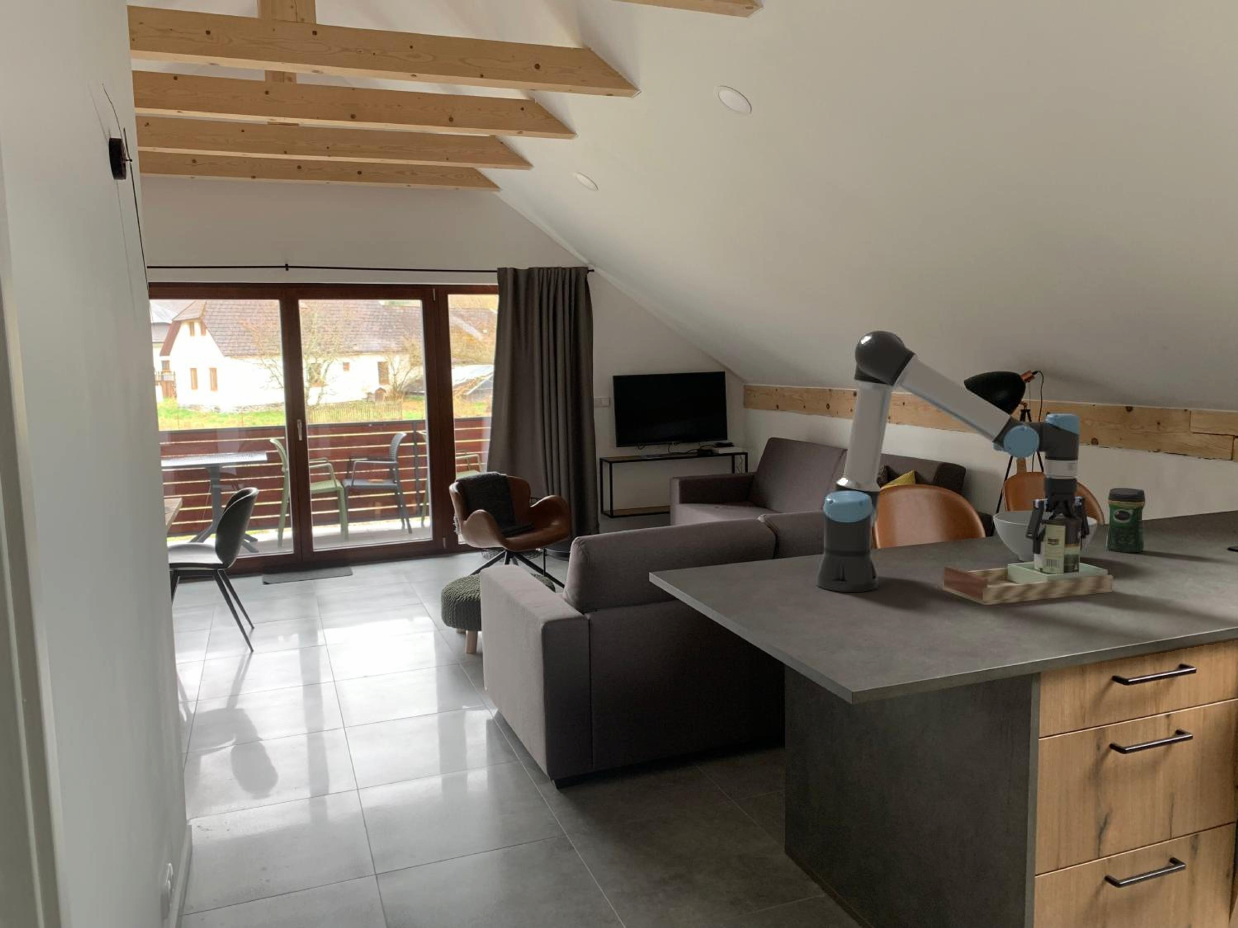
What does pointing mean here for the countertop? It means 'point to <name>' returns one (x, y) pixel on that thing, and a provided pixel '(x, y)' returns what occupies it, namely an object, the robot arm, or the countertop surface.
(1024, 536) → the decorative bowl
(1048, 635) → the countertop surface
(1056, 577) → the mint green tray
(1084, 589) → the bay
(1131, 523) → the coffee jar
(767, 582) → the countertop surface
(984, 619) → the countertop surface
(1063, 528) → the coffee can
